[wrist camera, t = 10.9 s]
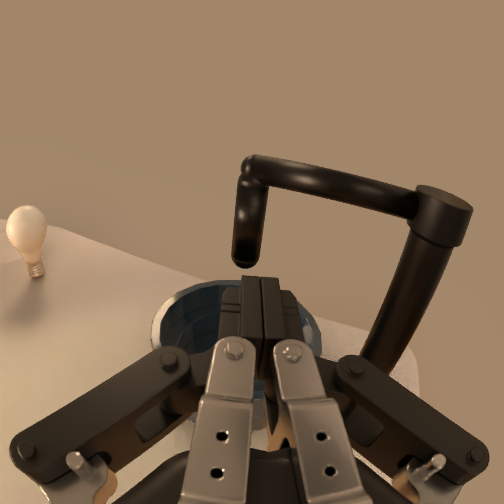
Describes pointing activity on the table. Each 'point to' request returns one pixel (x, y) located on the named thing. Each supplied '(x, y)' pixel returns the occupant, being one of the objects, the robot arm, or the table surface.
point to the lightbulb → (28, 236)
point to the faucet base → (406, 300)
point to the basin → (213, 329)
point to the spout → (343, 190)
